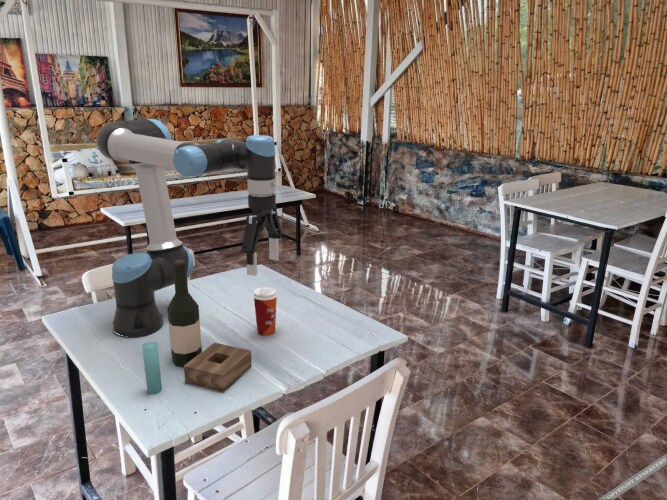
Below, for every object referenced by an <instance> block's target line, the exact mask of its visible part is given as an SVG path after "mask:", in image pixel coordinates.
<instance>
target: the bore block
mask: <svg viewBox="0 0 667 500" xmlns="http://www.w3.org/2000/svg"><path fill="white" fill-rule="evenodd" d="M252 363H253V362H252V350H250V349H245V348H241V347H237V346H231V345H227V344H224V343H223V344H222V343H219V342H213V343H212V344H211V345H209V346H208V347H206V348H205V349H204V350H202V352H201V353H200V354H199V355H197V356H196V357H195V358H193V359H192V360H191V361H190V362H188V363H187V364H186V365H184V367H183V373H184V382H185V383H186V384H188V385H193V386H196V387H201V388H205V389H209V390H213V391H216V392H220V393H222V394H223V393H225V392H227V390H228V389H229V388H230V387H231V386H232V385H234V384H235V383H236V382H237V381H238V380H239V379H240V378H241V377H242V376H243V375H244V374H245V373H247V371H249V370H250V369H251V367H252Z"/></svg>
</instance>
